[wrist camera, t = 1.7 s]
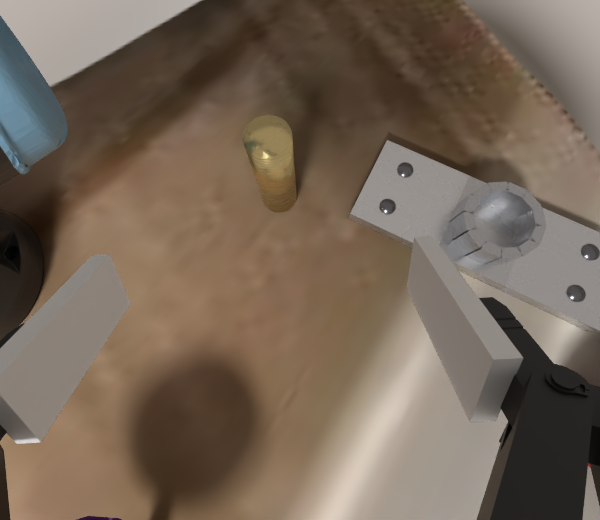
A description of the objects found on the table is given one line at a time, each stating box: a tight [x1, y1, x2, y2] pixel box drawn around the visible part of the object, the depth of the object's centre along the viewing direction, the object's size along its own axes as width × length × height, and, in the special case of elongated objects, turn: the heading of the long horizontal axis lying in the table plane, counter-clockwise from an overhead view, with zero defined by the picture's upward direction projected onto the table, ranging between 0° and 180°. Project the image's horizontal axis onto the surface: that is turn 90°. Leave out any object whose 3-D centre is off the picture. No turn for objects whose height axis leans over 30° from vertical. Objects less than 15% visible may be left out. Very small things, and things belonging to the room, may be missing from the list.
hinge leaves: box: [348, 140, 600, 331], centre depth 31 cm, size 25×9×4 cm, turn 63°
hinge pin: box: [243, 115, 297, 212], centre depth 30 cm, size 4×4×11 cm
